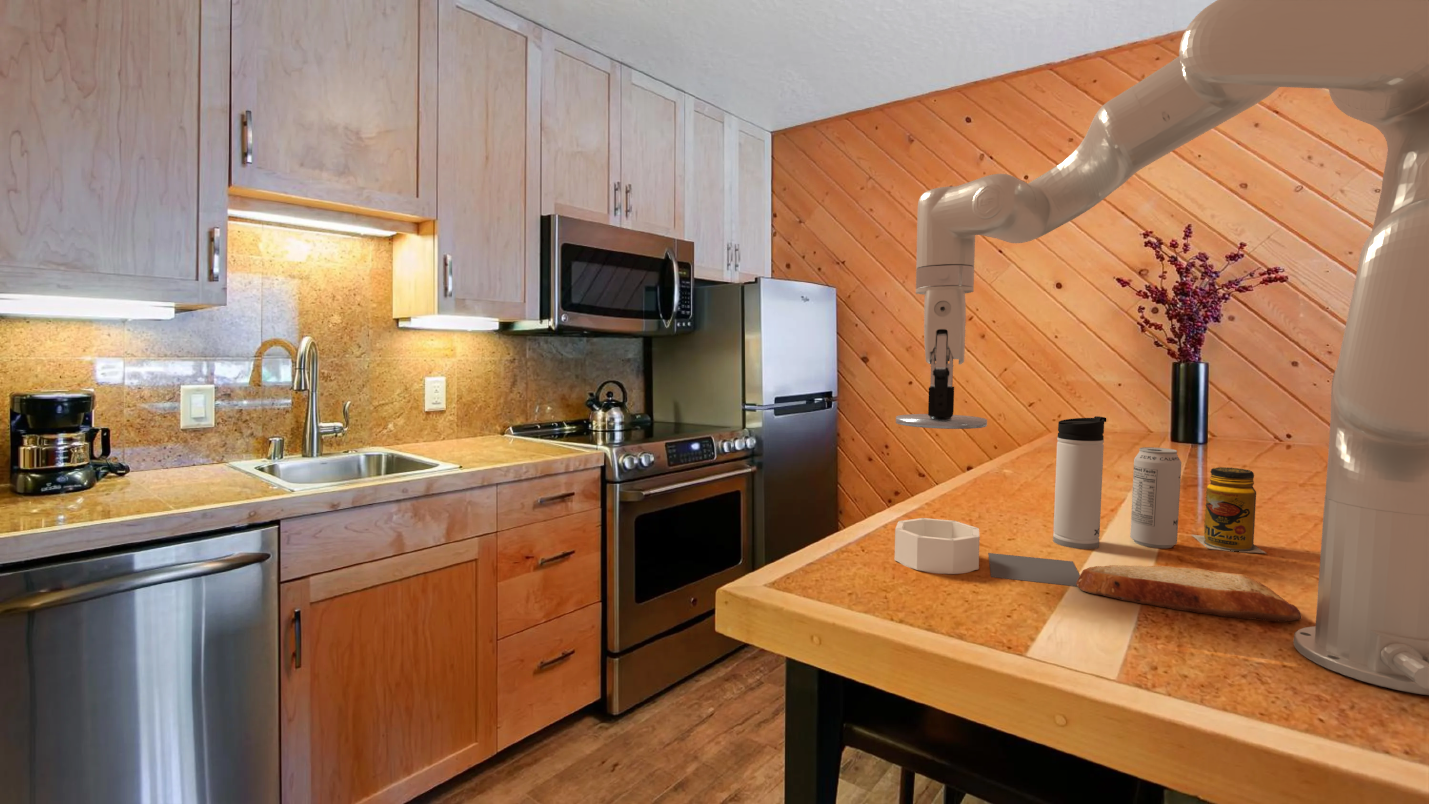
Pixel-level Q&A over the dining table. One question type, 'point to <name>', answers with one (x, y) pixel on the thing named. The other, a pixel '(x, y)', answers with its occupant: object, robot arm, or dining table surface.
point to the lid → (941, 421)
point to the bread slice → (1189, 591)
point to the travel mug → (1078, 482)
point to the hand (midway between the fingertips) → (940, 414)
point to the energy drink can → (1155, 497)
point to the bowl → (937, 546)
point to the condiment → (1230, 511)
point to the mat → (1033, 569)
